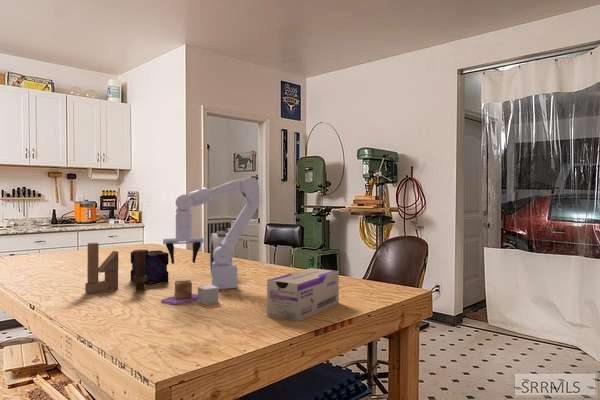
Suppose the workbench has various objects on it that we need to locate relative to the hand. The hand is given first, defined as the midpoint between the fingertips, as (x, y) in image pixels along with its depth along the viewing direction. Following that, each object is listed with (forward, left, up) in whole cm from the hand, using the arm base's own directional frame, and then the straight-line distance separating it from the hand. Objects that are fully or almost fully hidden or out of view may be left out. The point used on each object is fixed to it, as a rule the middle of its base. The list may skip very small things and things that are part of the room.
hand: (183, 262), depth 156 cm
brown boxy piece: (+2, +17, -9) cm, 19 cm away
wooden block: (+28, -8, -10) cm, 31 cm away
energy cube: (+11, -20, -10) cm, 25 cm away
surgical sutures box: (-31, +43, -10) cm, 54 cm away
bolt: (+15, -3, -10) cm, 18 cm away
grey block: (-5, +23, -10) cm, 26 cm away
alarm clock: (-19, -23, -10) cm, 31 cm away
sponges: (+2, +17, -11) cm, 20 cm away
